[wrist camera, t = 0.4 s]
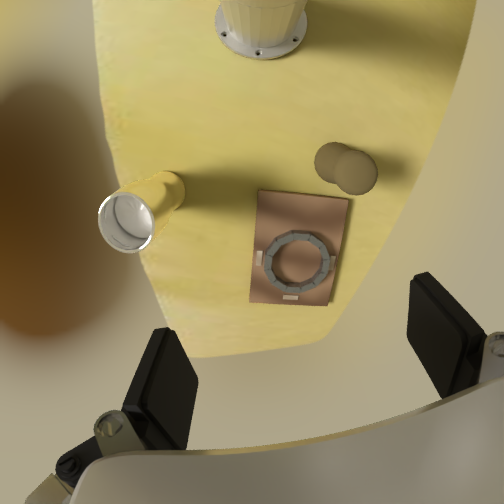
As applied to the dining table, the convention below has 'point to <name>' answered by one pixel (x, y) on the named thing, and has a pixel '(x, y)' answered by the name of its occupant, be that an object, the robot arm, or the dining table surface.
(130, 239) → the beer glass
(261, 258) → the board
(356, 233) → the dining table surface
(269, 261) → the hub ring
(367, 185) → the cork
